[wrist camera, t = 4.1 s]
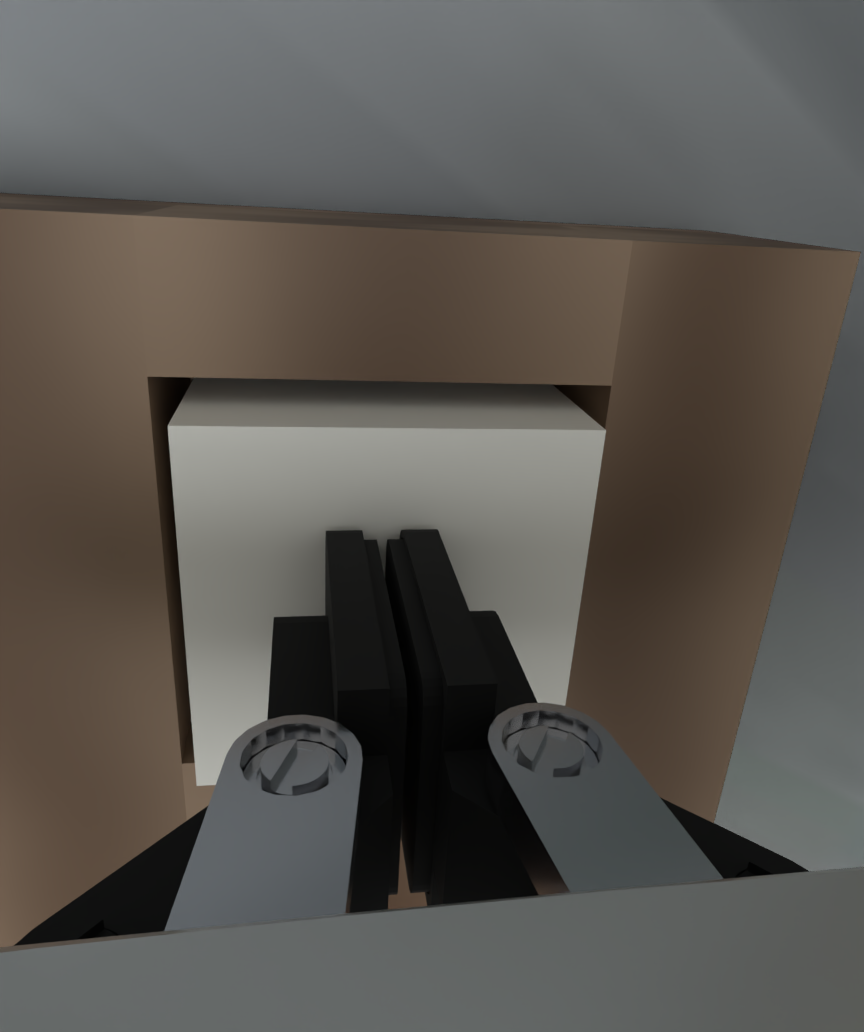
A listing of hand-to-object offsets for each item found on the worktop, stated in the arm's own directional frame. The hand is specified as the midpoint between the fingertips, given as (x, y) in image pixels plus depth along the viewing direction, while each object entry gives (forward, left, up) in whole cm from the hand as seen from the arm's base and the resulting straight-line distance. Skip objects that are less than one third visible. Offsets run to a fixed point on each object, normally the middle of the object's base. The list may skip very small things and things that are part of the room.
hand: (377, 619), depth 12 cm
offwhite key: (0, 0, -4) cm, 4 cm away
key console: (0, +6, -6) cm, 8 cm away
